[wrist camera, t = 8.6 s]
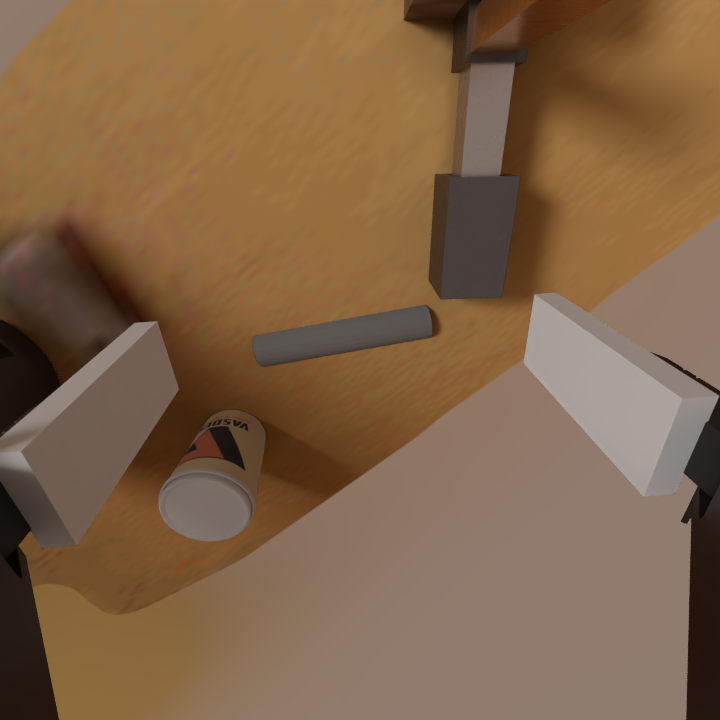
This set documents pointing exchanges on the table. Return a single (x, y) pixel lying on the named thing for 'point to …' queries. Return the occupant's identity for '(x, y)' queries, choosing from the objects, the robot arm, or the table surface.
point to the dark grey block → (471, 234)
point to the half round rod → (343, 336)
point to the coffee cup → (216, 479)
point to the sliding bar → (497, 70)
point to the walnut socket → (431, 9)
